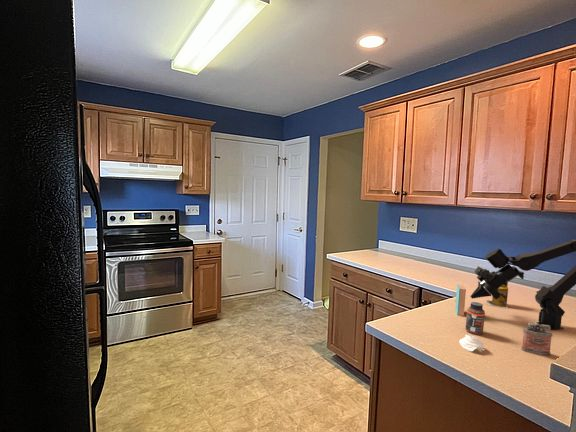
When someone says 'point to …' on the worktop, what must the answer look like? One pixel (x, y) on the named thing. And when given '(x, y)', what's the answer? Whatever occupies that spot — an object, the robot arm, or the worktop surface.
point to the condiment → (503, 298)
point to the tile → (460, 300)
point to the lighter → (537, 339)
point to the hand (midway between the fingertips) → (471, 297)
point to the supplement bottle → (475, 318)
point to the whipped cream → (471, 343)
